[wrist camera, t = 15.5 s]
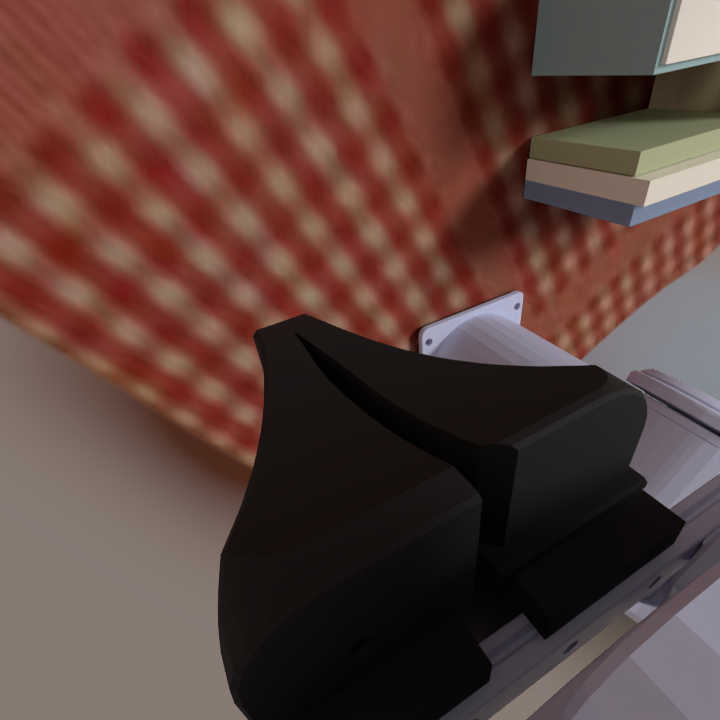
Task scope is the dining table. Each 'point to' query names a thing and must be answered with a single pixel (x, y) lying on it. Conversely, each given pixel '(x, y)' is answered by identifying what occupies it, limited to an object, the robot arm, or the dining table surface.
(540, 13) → the boxed book
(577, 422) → the robot arm
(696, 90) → the shelf wall
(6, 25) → the dining table surface
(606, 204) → the book row
